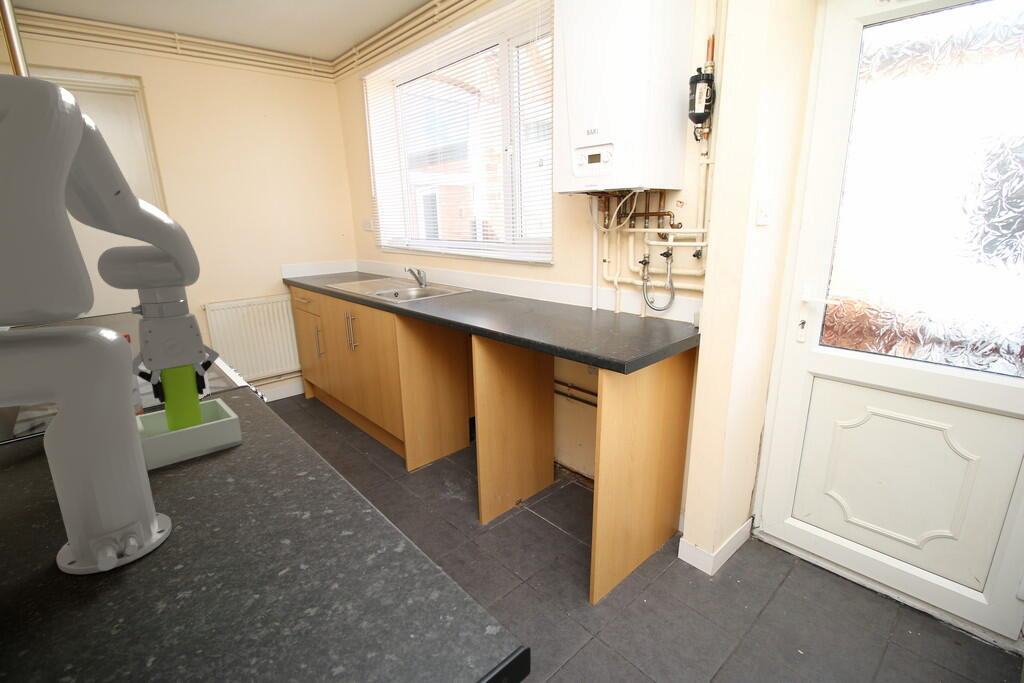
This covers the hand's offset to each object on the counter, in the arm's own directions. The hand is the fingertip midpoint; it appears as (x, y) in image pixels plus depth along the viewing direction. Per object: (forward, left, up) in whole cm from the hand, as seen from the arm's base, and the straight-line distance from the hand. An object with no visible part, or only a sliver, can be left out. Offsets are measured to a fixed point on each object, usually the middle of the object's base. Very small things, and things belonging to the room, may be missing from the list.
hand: (181, 396), depth 97 cm
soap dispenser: (0, 0, -7) cm, 7 cm away
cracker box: (+23, +12, -11) cm, 28 cm away
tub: (0, 0, -11) cm, 11 cm away
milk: (+32, -6, -11) cm, 34 cm away
